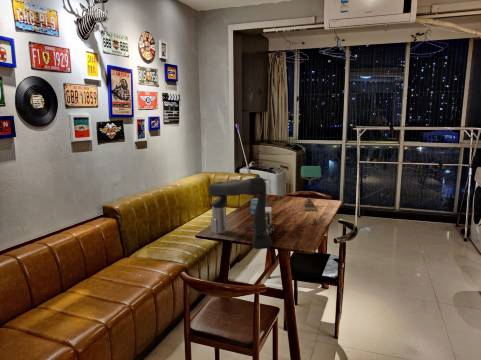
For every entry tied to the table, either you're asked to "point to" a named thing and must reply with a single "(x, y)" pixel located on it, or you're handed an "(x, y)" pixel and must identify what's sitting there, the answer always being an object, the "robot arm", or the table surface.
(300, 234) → the table surface
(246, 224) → the table surface
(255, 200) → the data package
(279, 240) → the table surface
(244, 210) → the table surface
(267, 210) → the tunnel
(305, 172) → the banker's lamp
